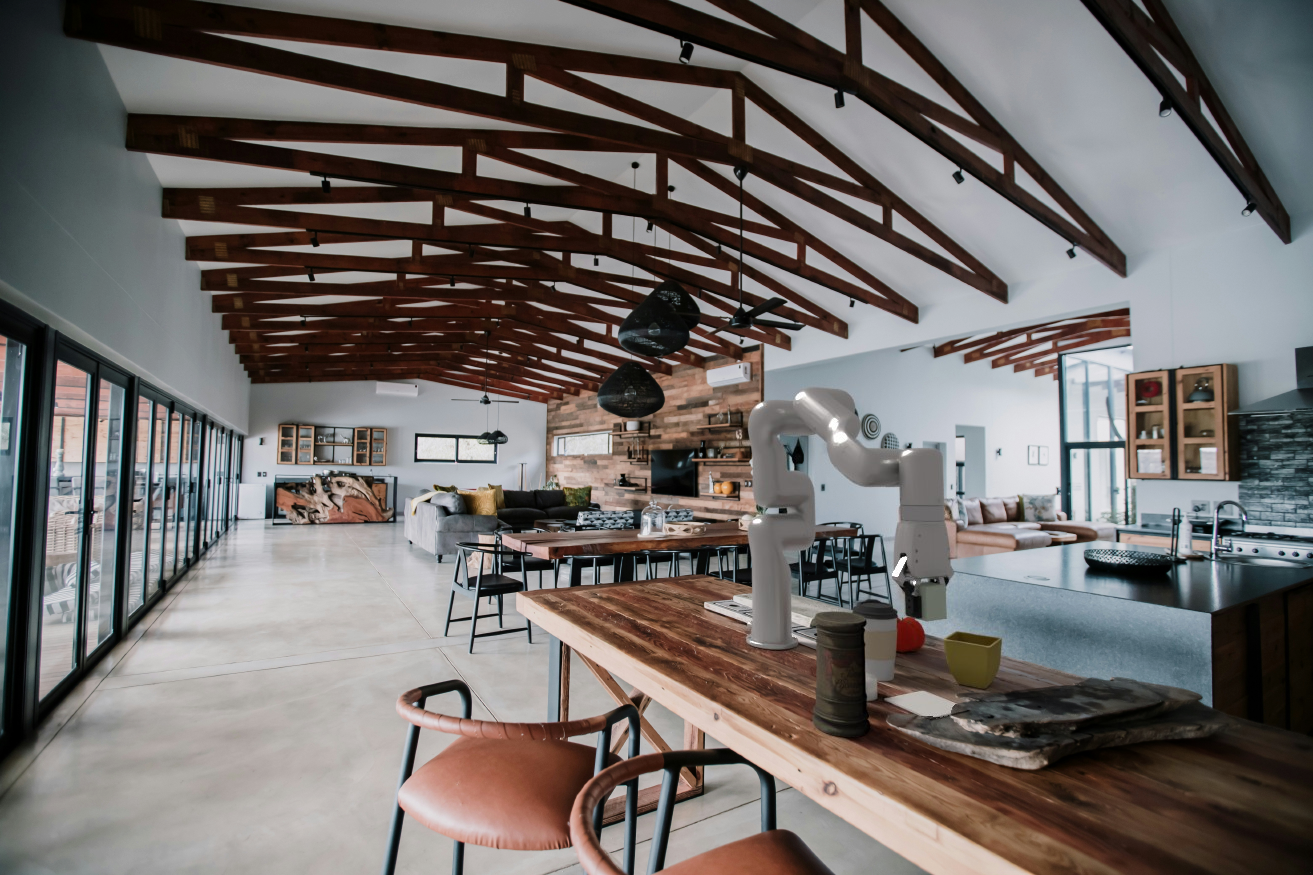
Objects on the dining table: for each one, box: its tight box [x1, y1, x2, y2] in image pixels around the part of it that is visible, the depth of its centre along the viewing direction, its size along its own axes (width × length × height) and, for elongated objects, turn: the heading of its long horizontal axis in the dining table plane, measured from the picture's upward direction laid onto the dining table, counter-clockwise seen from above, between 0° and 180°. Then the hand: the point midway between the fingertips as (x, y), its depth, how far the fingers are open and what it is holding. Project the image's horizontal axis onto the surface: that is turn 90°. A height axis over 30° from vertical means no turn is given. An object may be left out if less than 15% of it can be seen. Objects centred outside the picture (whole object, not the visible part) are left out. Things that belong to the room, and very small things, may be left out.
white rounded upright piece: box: [866, 673, 878, 702], centre depth 115 cm, size 6×6×4 cm
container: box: [812, 611, 871, 738], centre depth 101 cm, size 9×9×18 cm
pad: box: [884, 690, 957, 718], centre depth 110 cm, size 10×10×1 cm
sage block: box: [903, 580, 948, 622], centre depth 111 cm, size 5×5×6 cm
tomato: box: [896, 616, 926, 653], centre depth 145 cm, size 9×9×8 cm
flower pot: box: [942, 630, 1003, 690], centre depth 122 cm, size 9×9×9 cm
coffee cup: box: [851, 598, 899, 682], centre depth 127 cm, size 9×9×15 cm
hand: (924, 614), depth 111 cm, fingers closed on sage block, 5 cm apart
